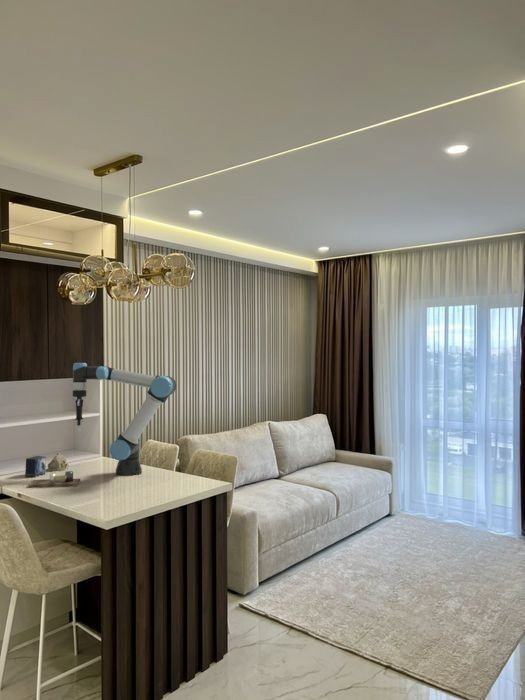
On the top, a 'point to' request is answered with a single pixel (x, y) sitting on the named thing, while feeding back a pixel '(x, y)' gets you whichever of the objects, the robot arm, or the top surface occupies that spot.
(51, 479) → the lever
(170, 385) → the robot arm
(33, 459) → the small box
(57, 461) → the ceramic model
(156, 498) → the top surface
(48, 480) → the dial board
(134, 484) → the top surface
